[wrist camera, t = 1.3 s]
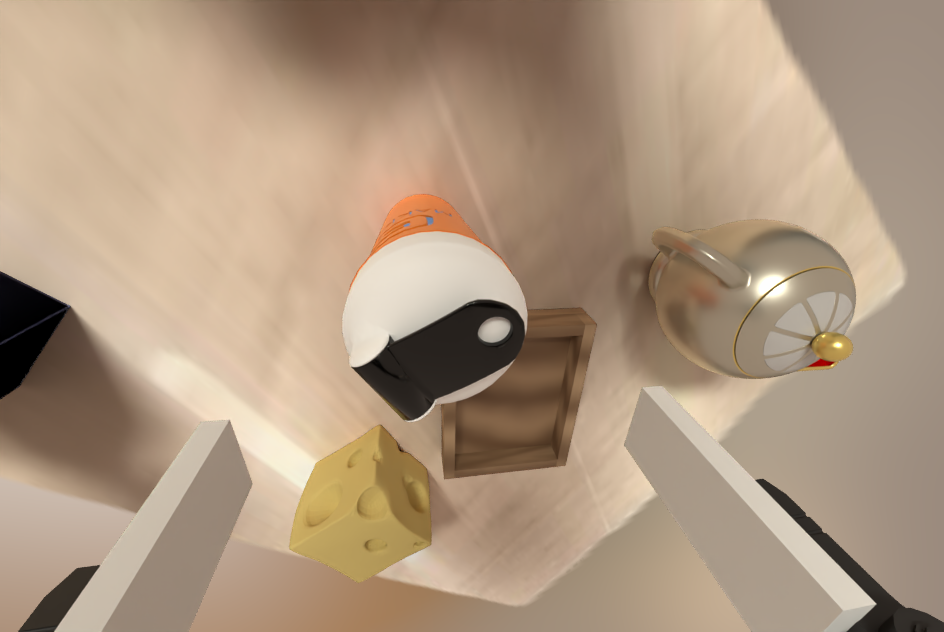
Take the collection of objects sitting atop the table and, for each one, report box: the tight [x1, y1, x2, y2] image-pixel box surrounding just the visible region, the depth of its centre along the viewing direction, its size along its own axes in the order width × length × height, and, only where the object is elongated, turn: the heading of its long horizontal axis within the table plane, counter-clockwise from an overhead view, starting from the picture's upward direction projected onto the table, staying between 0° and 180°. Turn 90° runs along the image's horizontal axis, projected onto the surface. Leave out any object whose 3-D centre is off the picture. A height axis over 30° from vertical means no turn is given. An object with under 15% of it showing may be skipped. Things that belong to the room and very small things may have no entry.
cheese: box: [289, 425, 431, 583], centre depth 41 cm, size 10×11×10 cm
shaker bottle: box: [342, 194, 528, 422], centre depth 24 cm, size 9×9×20 cm
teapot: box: [648, 219, 856, 379], centre depth 31 cm, size 18×14×16 cm
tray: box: [441, 308, 597, 479], centre depth 41 cm, size 20×15×4 cm
